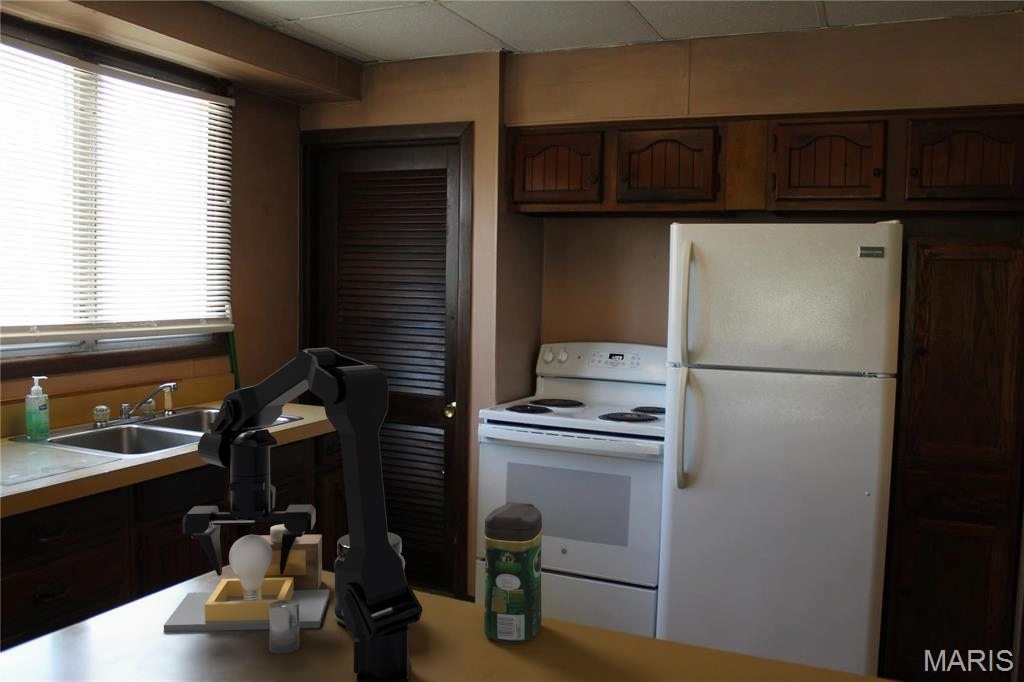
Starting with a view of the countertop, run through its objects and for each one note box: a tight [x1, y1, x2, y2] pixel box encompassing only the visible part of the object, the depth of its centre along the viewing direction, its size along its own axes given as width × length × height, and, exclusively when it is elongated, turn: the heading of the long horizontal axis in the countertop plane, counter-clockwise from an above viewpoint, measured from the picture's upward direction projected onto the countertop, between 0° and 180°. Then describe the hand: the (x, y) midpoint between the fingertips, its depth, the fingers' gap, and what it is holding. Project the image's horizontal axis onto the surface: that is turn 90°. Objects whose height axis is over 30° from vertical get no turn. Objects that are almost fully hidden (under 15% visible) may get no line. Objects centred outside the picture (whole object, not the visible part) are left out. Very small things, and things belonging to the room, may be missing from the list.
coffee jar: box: [483, 501, 543, 645], centre depth 124 cm, size 10×8×19 cm
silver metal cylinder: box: [268, 600, 300, 655], centre depth 118 cm, size 4×4×6 cm
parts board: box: [163, 577, 330, 633], centre depth 130 cm, size 22×13×4 cm, turn 96°
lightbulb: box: [228, 534, 273, 601], centre depth 130 cm, size 6×6×11 cm
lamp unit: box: [260, 524, 323, 590], centre depth 141 cm, size 12×5×10 cm, turn 96°
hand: (251, 574), depth 130 cm, fingers open, 9 cm apart
